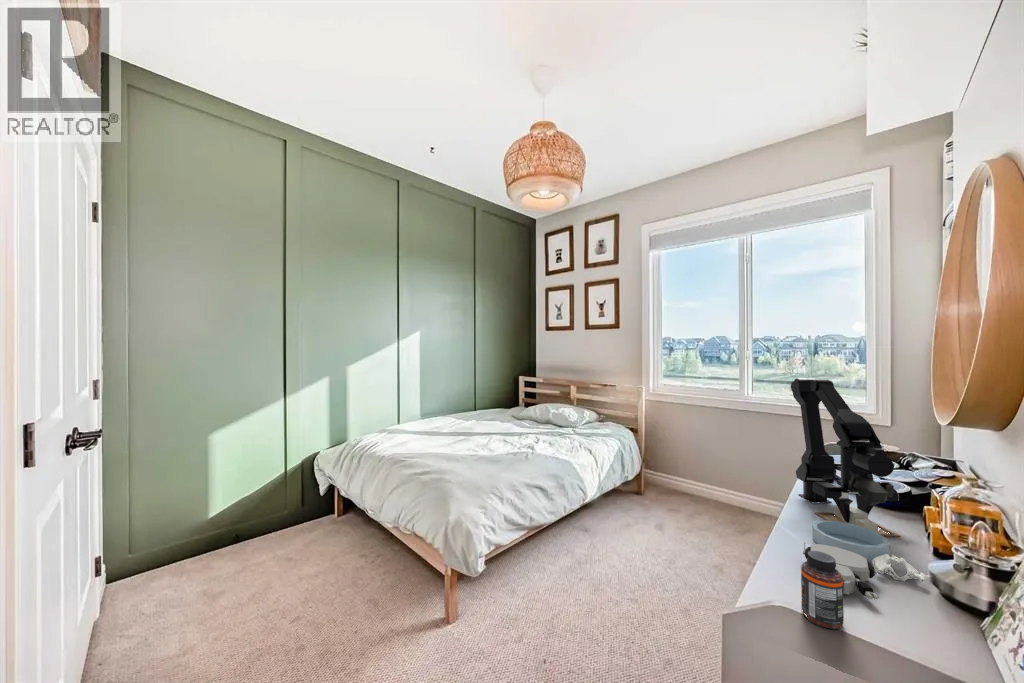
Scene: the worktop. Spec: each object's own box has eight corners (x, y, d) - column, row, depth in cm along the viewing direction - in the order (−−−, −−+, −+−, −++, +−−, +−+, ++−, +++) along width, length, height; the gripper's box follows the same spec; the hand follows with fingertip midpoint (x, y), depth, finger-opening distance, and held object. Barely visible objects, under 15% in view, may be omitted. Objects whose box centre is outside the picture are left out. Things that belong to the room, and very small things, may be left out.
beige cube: (841, 520, 111) (841, 506, 111) (855, 521, 111) (855, 507, 111) (853, 527, 106) (853, 512, 107) (868, 528, 106) (868, 513, 106)
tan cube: (834, 515, 115) (834, 505, 115) (845, 515, 114) (845, 506, 114) (842, 519, 112) (842, 509, 112) (854, 520, 111) (854, 510, 111)
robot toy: (881, 616, 73) (875, 574, 85) (881, 592, 73) (874, 554, 84) (800, 590, 81) (804, 555, 92) (800, 568, 81) (804, 536, 92)
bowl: (800, 533, 104) (800, 519, 104) (856, 535, 103) (856, 521, 103) (840, 561, 90) (839, 545, 90) (905, 564, 89) (905, 548, 89)
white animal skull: (875, 561, 84) (868, 545, 89) (875, 580, 84) (869, 563, 89) (928, 572, 79) (918, 555, 85) (928, 593, 79) (918, 574, 85)
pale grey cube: (854, 529, 106) (854, 518, 106) (868, 529, 105) (868, 519, 106) (863, 534, 103) (863, 523, 103) (877, 534, 102) (877, 524, 103)
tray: (814, 514, 116) (814, 511, 116) (857, 516, 115) (857, 513, 115) (851, 536, 102) (851, 533, 102) (900, 539, 101) (900, 535, 101)
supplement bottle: (802, 604, 75) (802, 544, 75) (843, 617, 71) (842, 554, 71) (800, 620, 70) (799, 556, 70) (844, 636, 66) (843, 568, 67)
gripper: (840, 473, 102) (840, 534, 101) (917, 475, 100) (918, 537, 100) (810, 461, 113) (811, 516, 112) (880, 463, 111) (881, 518, 111)
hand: (854, 522), depth 109 cm, fingers closed on beige cube, 4 cm apart
